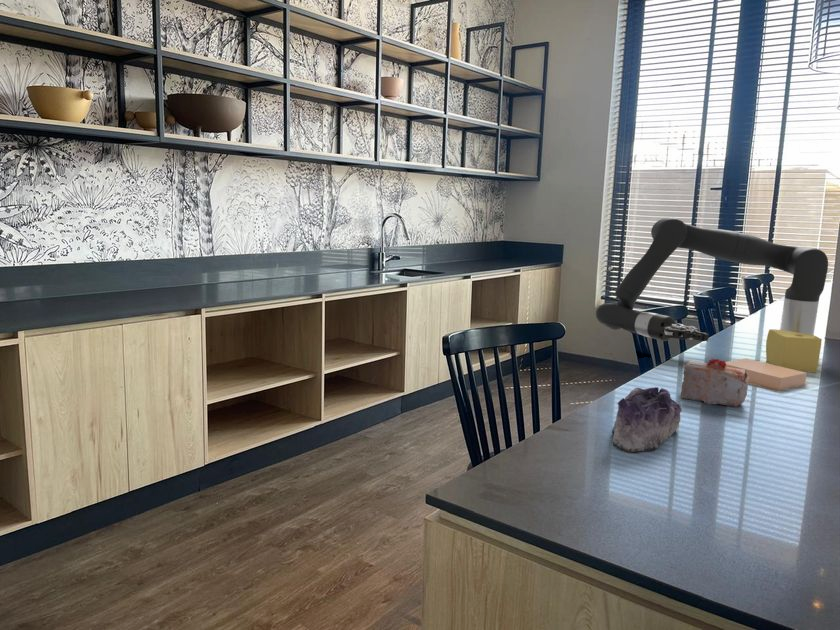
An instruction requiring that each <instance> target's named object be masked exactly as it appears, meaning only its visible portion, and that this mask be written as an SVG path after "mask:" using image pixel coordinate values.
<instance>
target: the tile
mask: <svg viewBox="0 0 840 630" xmlns="http://www.w3.org/2000/svg"><path fill="white" fill-rule="evenodd" d="M724 362H725V363H726V365H727V366H725V367H731V368H737V369H745V370H746V371H747V373H748V374H747V375H748V378H749V382H752V383H756V384H759V385H763V386H767V387H771V388H774V389H778V390H781V391H783V390H782V389H785V390H787V389H786V388H790V387H794V388H796V387H795V386H799V385H803V386H805V385H804V384H805V383H806V379H807V374H808V373H807V371H802V370H793V369H789V368H785V367H780V366H776V365H773V364H771V363H769V362H763V361H759V360H755V359H750V358H739V359H735V360H728V361H724ZM799 387H800V386H799ZM790 389H791V388H790Z"/></svg>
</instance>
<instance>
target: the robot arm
mask: <svg viewBox="0 0 840 630" xmlns="http://www.w3.org/2000/svg"><path fill="white" fill-rule="evenodd" d="M650 233H651V237H652V238H651V239H652V241H651V244H650V246H649V247H648V249H647V250H646V252H645V254H643V256H642V257H641V258H640V259H639V261H638V262H636V264H635V265H634V266H633V267H632V268H631V269H630V270H629V271H628V273H627V274H626V275H625V277H623V279H622V281H621V283H620V284H619V285H618V287H617V288H616V290H615V292H614V295H615V297H616V298H617V302H616V303H611V302H605V303H602V304H600V305H599V306H598V307H597V308H596V311H595V317H596V320H597V321H598V322H599V323H601V324H602V325H604V326H605V327H608V328H609V329H611V330H620V329H623V330H625V331H627V332H629V333H632V334H638V335H641V336H643V337H646V338H650V339H654V340H659V341H663V342H667V341H668V340H670V339H678V340H679V339H680V340H686V341H687V340H689V341H691V340H695V341H700V342H708V341H709V336H710V335H709V333H707V332H702V331H700V329H699V328H697V327H696V326H694V325H689V326H687V325H684V324H682V323H678V322H677V323H676V322H675V320H674V318H673V317H672V316H670V315H666V314H661V313H660V314H659V313H656V312H649V311H648V312H647V311H642V310H641V311H640V310H635V309H634V307H635V303H636V302H637V300H638V299H639V297H640V296H641V295H642V293H643V292H644V290H645V289H646V287H647V286H648V284H650V283H649V282H651V280H652V279H653V277H654V275H656V273H657V271H658V270H660V268H661V267H662V265H663V264H664V263H665V261H666V260H668V258H669V257H670V256H671V255H672V254H673V253H674V252H675V251H676V250H677V249H678V248H679V249H687V250H691V251H696V252H699V253H701V254H704V255H707V256H709V257H710V256H711V257H712V258H716V259H719V260H723V261H726V262H732V263H736V264H743V265H749V266H750V265H751V266H762V267H770V268H773V269H776V270H779V271H784V272H786V273H789V274H791V275H793V276H792V281H791V284H790V286H789V287H788V288H786V289H785V293H784V299H783V305H782V306H783V307H782V314H781V322H780V327H779V330H784V331H792V332H796V333H802V334H811V335H814V336H815V329H816V322H817V321H816V320H817V316H818V315H817V314H818V309H819V304H820V303H819V301H820V297H821V295H822V293H823V291H824V289H825V284H826V279H827V275H828V269H829V258H828V256H827V254H826V253H825V252H824V251H823V250H821V249H819V248H816V247H815V248H814V247H808V246H794V245H793V246H792V245H785V244H778V243H773V242H770V241H768V240H766V239H764V238H761V237H758V236H755V235H751V234H747V233H743V232H738V231H734V230H727V229H719V228H706V227H700V226H695V225H691V224H688V223H685V222H684V221H683V220H682V219H679V218H677V217H676V218H675V217H664V218H661V219H659V220H657V221H656V222H655V223H654V224H653V226H652V227H651V230H650Z"/></svg>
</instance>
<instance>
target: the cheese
mask: <svg viewBox="0 0 840 630" xmlns="http://www.w3.org/2000/svg"><path fill="white" fill-rule="evenodd" d="M821 348H822V338H820V337H818V336H816V335H815V334H814V335H811V334H802V333H796V332H792V331H784V330H780V329H768V333H767V337H766V341H765V356H766V357H765V359H766V360H765V363H768V364H772V365H776V366H780V367H785V368H789V369H793V370H797V371H801V372H806V373H807V372H808V373H817V370H818V367H819V360H820V355H821V350H822V349H821Z"/></svg>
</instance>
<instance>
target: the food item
mask: <svg viewBox="0 0 840 630" xmlns="http://www.w3.org/2000/svg"><path fill="white" fill-rule="evenodd" d="M725 362H726V361H725V360H719V359H718V358H717V359H716V358H715V359H714V358H711V359H709V361H708V363H706V362H700V361H699V362H697V361H693V360H689V361H686V362H685V363H684V369H683V381H682V383H681V390H680V391H681V392H680V398H681V399H682V400H683V399H684V400H691V401H697V402H703V401H704V403H705V404H707V405H722V406H725V407H726V406H727V407H738V406H739V405H740V406H741V405H742V404H743V403H745V400H746V399H747V396H748V389H749V384H748V383H749V378H748V375H747V374H748V373H747V371H746V370H745V369H737V368H731V367H725V366H727V365H726V363H725Z"/></svg>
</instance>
